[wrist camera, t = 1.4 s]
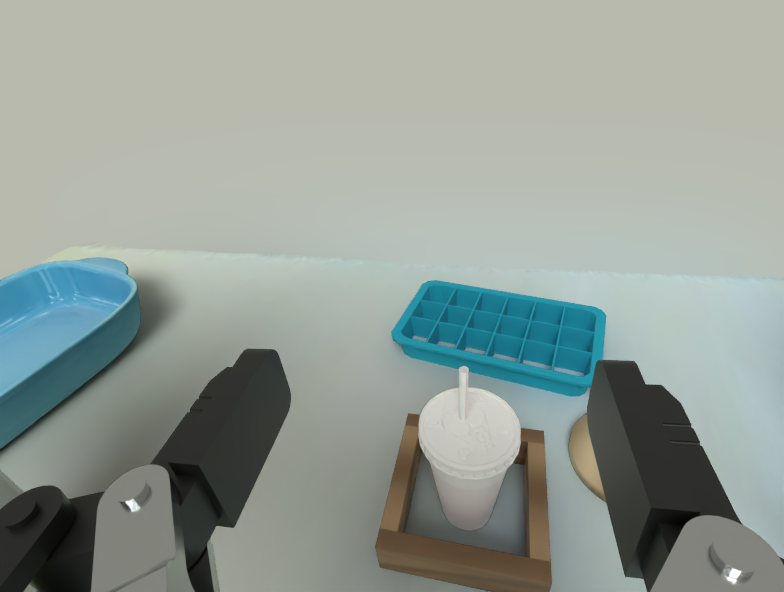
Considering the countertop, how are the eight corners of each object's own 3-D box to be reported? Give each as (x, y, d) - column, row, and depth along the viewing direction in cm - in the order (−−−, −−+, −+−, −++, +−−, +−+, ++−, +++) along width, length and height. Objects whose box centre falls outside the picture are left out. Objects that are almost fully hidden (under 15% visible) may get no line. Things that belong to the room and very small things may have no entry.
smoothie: (473, 453, 36) (478, 324, 28) (529, 518, 32) (554, 386, 23) (408, 493, 34) (392, 365, 26) (458, 569, 29) (458, 443, 21)
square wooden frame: (545, 603, 27) (551, 583, 26) (380, 567, 30) (375, 546, 28) (539, 453, 36) (543, 431, 34) (410, 435, 38) (408, 413, 36)
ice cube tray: (593, 411, 39) (599, 388, 37) (389, 359, 47) (387, 338, 45) (601, 330, 47) (606, 308, 46) (427, 298, 55) (426, 278, 53)
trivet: (563, 492, 33) (565, 485, 32) (573, 403, 39) (575, 396, 39) (703, 536, 30) (708, 528, 29) (689, 431, 36) (693, 423, 36)
